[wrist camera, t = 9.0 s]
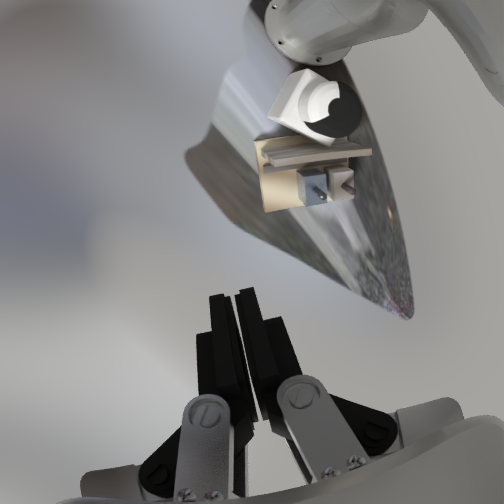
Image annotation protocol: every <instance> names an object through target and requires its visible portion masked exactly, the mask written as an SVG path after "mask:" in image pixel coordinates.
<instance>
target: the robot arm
mask: <svg viewBox="0 0 504 504" xmlns="http://www.w3.org/2000/svg"><path fill="white" fill-rule="evenodd" d="M272 7H274V8H275V9H273V8H272ZM428 9H430V10H431V11H432V12H433V13H434V14H435V15H436V16H437V18H438V19H439V20H440V21H441V23H442V24H443V25H444V26H445V27H446V28H447V29H448V31H449V32H450V33H451V35H452V36H453V37H454V39H455V40H456V41H457V43H458V44H459V46H460V47H461V48H462V50H463V51H464V53H465V54H466V56H467V57H468V59H469V61H470V62H471V63H472V65H473V67H474V68H475V70H476V71H477V73H478V75H479V76H480V78H481V80H482V81H483V83H484V84H485V86H486V88H487V89H488V90H489V92H490V93H491V94H492V96H494V97H495V99H496V100H497V101H498V102H499V103H500V104H501V105H503V106H504V0H272V1H271V2H270V3H269V5H268V7H267V9H266V12H265V17H264V24H265V29H266V32H267V34H268V37H269V39H270V40H271V42H272V43H273V45H274V46H275V47H276V48H277V49H278V50H279V51H280V52H281V53H283V54H284V55H285V56H286V57H288V58H290V59H292V60H294V61H296V62H299V63H301V64H305V65H310V66H323V65H328V64H332V63H335V62H337V61H339V60H341V59H342V58H343V57H345V56H346V55H347V53H348V52H349V51H350V49H351V47H352V46H353V45H357V44H361V43H365V42H369V41H373V40H377V39H381V38H385V37H390V36H395V35H400V34H404V33H407V32H410V31H412V30H414V29H415V28H416V27H418V25H419V24H421V23H422V21H423V20H424V18H425V16H426V14H427V12H428ZM278 42H281V45H280V44H279V43H278ZM316 59H317V60H318V62H317V61H316ZM239 291H240V294H237V295H235V301H236V306H237V312H238V316H239V322H240V327H241V332H242V337H243V342H244V347H245V352H246V357H247V362H248V367H249V371H250V376H251V380H252V384H253V387H254V391H255V394H256V398H257V401H258V405H259V408H260V411H261V415H262V417H263V420H268V419H269V421H270V425H271V428H272V432H274V433H276V434H278V435H280V436H282V437H284V440H285V442H286V444H287V446H288V448H289V450H290V452H291V454H292V456H293V458H294V460H295V462H296V464H297V466H298V468H299V470H300V472H301V474H302V476H303V478H304V480H305V482H306V484H307V485H304V486H301V487H297V488H292V489H288V490H284V491H279V492H274V493H270V494H264V495H258V496H251V497H248V445H247V443H248V442H249V441H250V440H251V439H252V437H253V436H254V433H253V430H254V425H253V422H258V416H257V412H256V407H255V402H254V398H253V393H252V388H251V383H250V378H249V374H248V369H247V364H246V359H245V355H244V350H243V344H242V341H241V337H240V333H239V329H238V325H237V322H236V318H235V314H234V310H233V306H232V302H231V298H230V296H227V297H225V296H224V294H218V295H213V296H210V297H209V303H210V316H211V328H212V331H210V332H205V333H200V334H197V335H196V346H197V347H196V348H197V372H198V391H199V396H198V397H195V398H194V399H192V400H191V401H190V402H189V403H188V404H187V405H186V407H185V409H184V412H183V419H182V425H181V426H180V428H179V429H177V430H176V431H175V432H174V434H172V435H171V436H170V437H169V439H167V440H166V441H165V442H164V443H163V444H162V445H161V446H160V447H159V448H158V449H157V450H156V451H155V452H154V453H153V454H152V455H151V456H150V457H149V458H148V459H147V460H145V461H144V463H143V464H141V465H137V466H135V465H133V464H132V465H127V466H121V467H115V468H109V469H103V470H95V471H90V472H87V473H85V474H84V475H83V476H82V478H81V481H80V489H81V495H82V497H78V498H70V499H66V500H63V501H61V502H58V503H56V504H504V422H503V421H502V420H500V419H499V418H497V417H495V416H490V415H483V416H476V417H471V418H467V419H464V416H463V413H462V410H461V407H460V405H459V404H458V402H457V401H455V400H454V399H452V398H449V397H446V398H440V399H437V400H433V401H430V402H426V403H423V404H419V405H415V406H411V407H407V408H403V409H398V410H396V412H394V413H389V414H386V413H384V412H381V411H378V410H375V409H371V408H369V407H366V406H363V405H360V404H357V403H354V402H351V401H348V400H345V399H342V398H339V397H337V396H334V395H332V394H329V393H328V392H327V390H326V389H325V387H324V386H323V384H322V383H321V382H320V381H319V380H318V379H316V378H314V377H312V376H308V375H303V374H302V371H301V368H300V366H299V363H298V360H297V357H296V355H295V352H294V349H293V346H292V344H291V341H290V338H289V336H288V333H287V330H286V327H285V325H284V322H283V319H282V317H281V316H280V317H276V318H271V319H267V320H263V318H262V315H261V311H260V308H259V305H258V301H257V298H256V294H255V291H254V287H251V288H246V289H242V290H239Z"/></svg>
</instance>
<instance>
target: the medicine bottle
mask: <svg viewBox="0 0 504 504" xmlns="http://www.w3.org/2000/svg"><path fill="white" fill-rule="evenodd" d="M361 116H362V107H361V103H360V100H359V98H358V96H357V94H356V93H355V91H354V90H353V89H352V88H351V87H349V86H348V85H346V84H344V83H341V82H337V81H328V80H327V79H325V78H323V77H322V76H320V75H319V74H317V73H315V72H314V71H312V70H310V69H304V70H300V71H297V72H294V73H291V74H289V75H288V77H287V79H286V81H285V82H284V84H283V86H282V88H281V90H280V92H279V93H278V95H277V97H276V99H275V101H274V103H273V105H272V106H271V108H270V110H269V112H268V114H267V117H268V118H270V119H272V120H274V121H275V122H277V123H279V124H281V125H283V126H285V127H287V128H289V129H291V130H293V131H295V132H297V133H298V134H300V135H303V136H305V137H307V138H308V139H310V140H312V141H314V142H317V143H320V144H322V145H324V146H327V147H331V146H332V144H333V142H334V140H335V138H342V137H346V136H348V135H350V134H351V133H352V132H353V131H354V130H355V129H356V128H357V127H358V125H359V123H360V120H361Z"/></svg>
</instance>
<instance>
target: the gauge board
mask: <svg viewBox="0 0 504 504" xmlns="http://www.w3.org/2000/svg"><path fill="white" fill-rule="evenodd" d="M254 145H255V151H256V158H257V165H258V172H259V179H260V186H261V193H262V200H263V207H264V211H265V212H271V211H276V210H281V209H287V208H292V207H297V206H303V205H304V204H303V202H302V201H301V200H300V199H299V196H298V184H297V174H296V171H302V170H309V169H316V168H317V169H319V170H320V171H322V172H323V173H325V174H326V184H327V201H331V200H333V201H341V200H346V199H352V198H354V194H355V193H356V190H355V189H354V171H353V170H352V169H350V168H349V162H348V157H357V156H367V155H372V149H371V148H368V147H365V146H362V145H359V144H356V143H353V142H350V141H347V136H346V137H342V138H335V140H334V142H333V144H332V146H331V147H327V146H324V145H322V144H320V143H317V142H314V141H312V140H310V139H308V138H307V137H305V136H303V135H293V136H285V137H277V138H270V139H263V140H257V141H254Z"/></svg>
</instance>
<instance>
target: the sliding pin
mask: <svg viewBox="0 0 504 504" xmlns="http://www.w3.org/2000/svg"><path fill="white" fill-rule="evenodd" d="M296 174H297V184H298V196H299V199H300V200H301V201H302V202H303V204H304V205H305V206H306V207H307V206H312V205H318V204H323V203H327V184H326V174H325V173H323V172H322V171H320V170H319V169H317V168H316V169H309V170H302V171H296Z"/></svg>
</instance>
